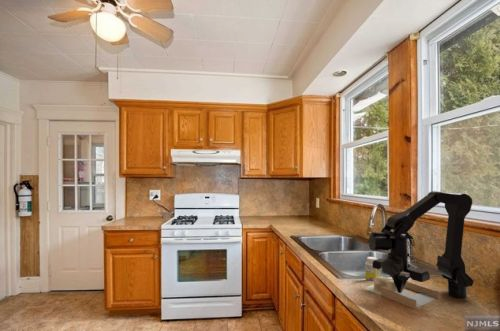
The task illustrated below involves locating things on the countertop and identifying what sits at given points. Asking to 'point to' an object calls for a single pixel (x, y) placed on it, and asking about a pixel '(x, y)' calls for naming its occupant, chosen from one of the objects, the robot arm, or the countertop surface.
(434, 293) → the board
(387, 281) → the block
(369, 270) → the supplement bottle
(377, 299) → the countertop surface
